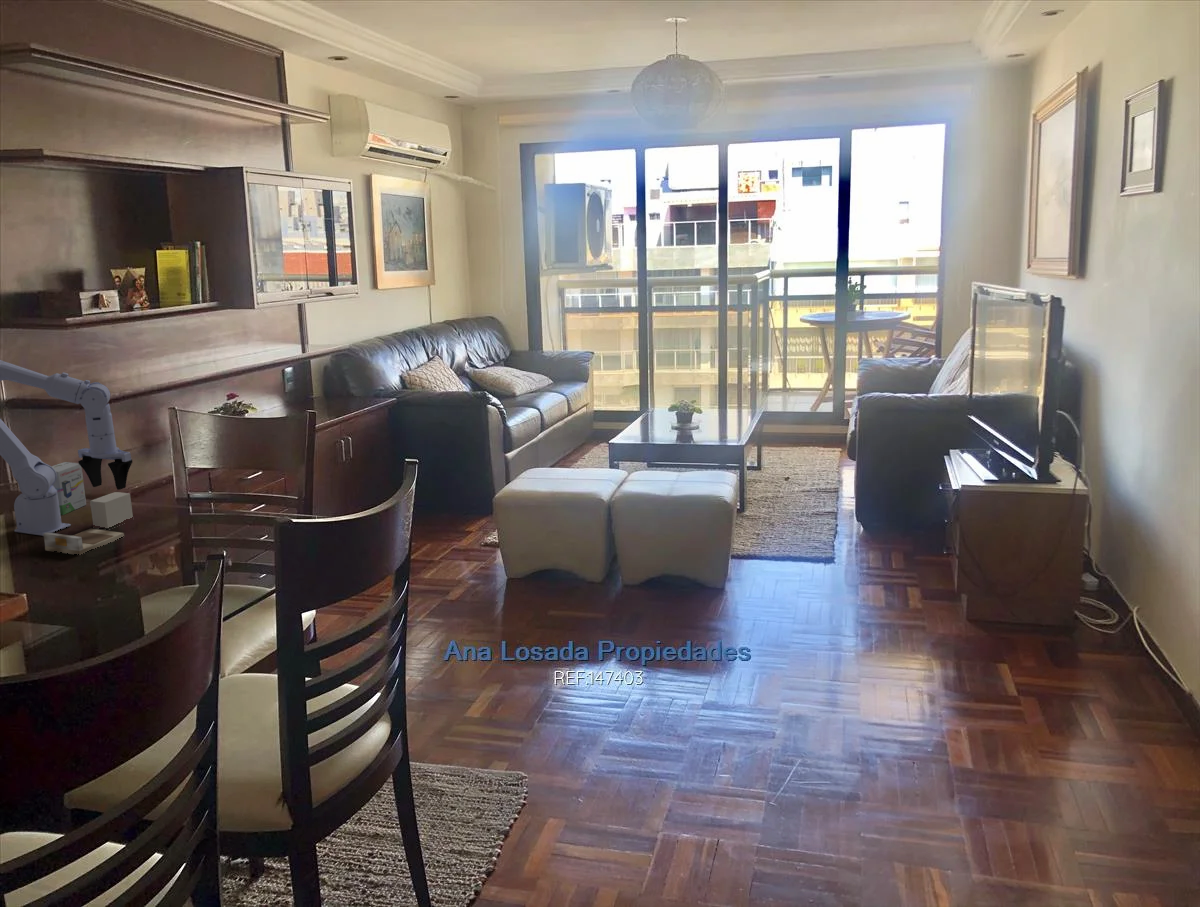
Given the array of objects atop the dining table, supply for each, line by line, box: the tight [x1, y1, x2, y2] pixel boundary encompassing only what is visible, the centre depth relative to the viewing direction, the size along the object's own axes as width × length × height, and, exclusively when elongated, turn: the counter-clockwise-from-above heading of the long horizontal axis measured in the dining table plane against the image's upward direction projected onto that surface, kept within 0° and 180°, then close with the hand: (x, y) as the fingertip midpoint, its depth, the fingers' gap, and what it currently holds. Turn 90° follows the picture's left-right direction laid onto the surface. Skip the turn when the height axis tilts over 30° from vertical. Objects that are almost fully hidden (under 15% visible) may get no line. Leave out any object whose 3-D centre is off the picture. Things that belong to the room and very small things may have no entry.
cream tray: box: [43, 528, 125, 556], centre depth 219 cm, size 10×13×4 cm
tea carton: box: [89, 491, 134, 528], centre depth 233 cm, size 5×8×7 cm, turn 162°
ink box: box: [50, 461, 87, 516], centre depth 243 cm, size 9×5×12 cm, turn 168°
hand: (109, 487), depth 231 cm, fingers open, 7 cm apart
